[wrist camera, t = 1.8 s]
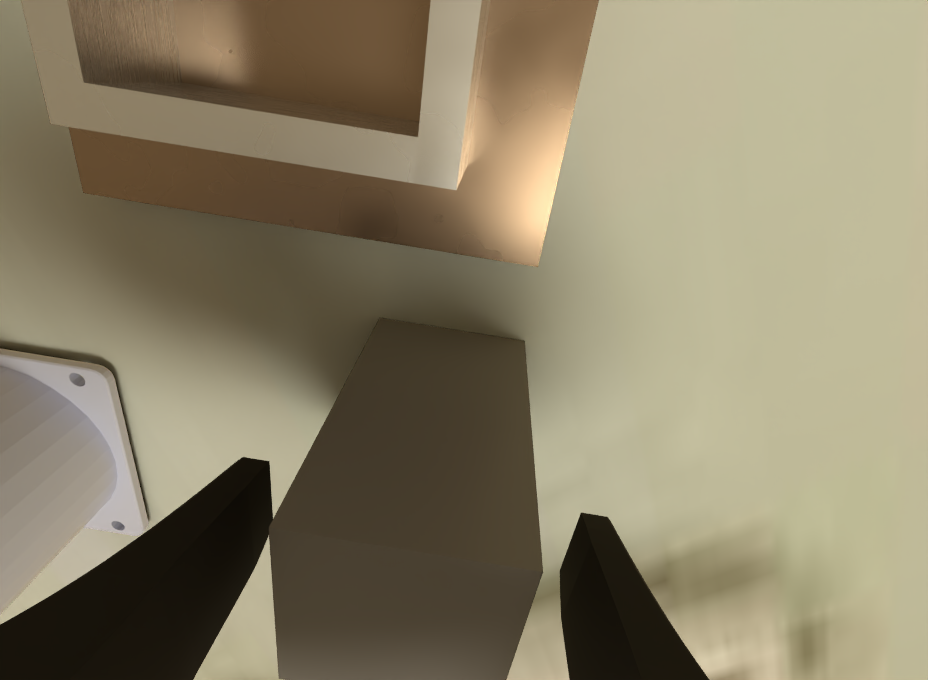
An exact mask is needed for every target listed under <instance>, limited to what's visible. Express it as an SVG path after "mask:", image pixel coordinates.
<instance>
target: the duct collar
mask: <svg viewBox="0 0 928 680" xmlns="http://www.w3.org/2000/svg"><path fill="white" fill-rule="evenodd" d="M598 1H599V0H21V2H22V6H23V11H24V15H25V19H26V23H27V27H28V32H29V36H30V40H31V44H32V48H33V52H34V57H35V61H36V65H37V69H38V73H39V78H40V82H41V86H42V90H43V94H44V98H45V103H46V107H47V111H48V115H49V119H50V124H54V125H60V126H66V127H69V131H70V135H71V140H72V144H73V148H74V153H75V157H76V162H77V166H78V171H79V175H80V180H81V184H82V189H83V193H87V194H93V195H99V196H105V197H111V198H118V199H124V200H130V201H136V202H142V203H148V204H154V205H161V206H167V207H173V208H179V209H185V210H191V211H197V212H204V213H210V214H216V215H222V216H228V217H234V218H240V219H247V220H253V221H259V222H265V223H271V224H277V225H283V226H290V227H296V228H302V229H308V230H314V231H320V232H326V233H332V234H339V235H345V236H351V237H357V238H363V239H369V240H375V241H382V242H388V243H394V244H400V245H406V246H412V247H418V248H425V249H431V250H437V251H443V252H449V253H455V254H461V255H468V256H474V257H480V258H486V259H492V260H498V261H504V262H511V263H517V264H523V265H529V266H535V267H538V264H539V260H540V255H541V251H542V247H543V242H544V238H545V234H546V229H547V225H548V220H549V216H550V212H551V207H552V203H553V199H554V194H555V190H556V185H557V181H558V177H559V172H560V168H561V163H562V159H563V155H564V150H565V146H566V142H567V137H568V133H569V128H570V124H571V120H572V115H573V111H574V106H575V102H576V98H577V93H578V89H579V85H580V80H581V76H582V71H583V67H584V63H585V58H586V54H587V49H588V45H589V41H590V36H591V32H592V28H593V23H594V19H595V14H596V10H597V6H598Z"/></svg>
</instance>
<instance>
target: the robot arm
mask: <svg viewBox="0 0 928 680" xmlns="http://www.w3.org/2000/svg"><path fill="white" fill-rule="evenodd" d="M80 375H81V376H82V377H81V376H80ZM272 521H273V513H272V497H271V481H270V465H269V461H264V460H257V459H251V458H245V457H243V458H241V459H240V460H238V461H237V462H236V463H234V464H233V465H232V466H230V467H229V468H228V469H227V470H225V471H224V472H223V473H222V474H221V475H219V476H218V477H217V478H216V479H214V480H213V481H212V482H211V483H209V484H208V485H207V486H206V487H204V488H203V489H202V490H201V491H199V492H198V493H197V494H195V495H194V496H193V497H192V498H190V499H189V500H188V501H187V502H185V503H184V504H183V505H181V506H180V507H179V508H177V509H176V510H175V511H173V512H172V513H171V514H169V515H168V516H167V517H166V518H164V519H163V520H162V521H160V522H159V523H158V524H156V525H155V526H154V527H152V528H151V529H150V530H148V531H147V532H145V533H144V534H143V535H141V534H142V533H143V532H144V531H145V530H146V528H147V527H148V525H149V522H148V518H147V514H146V510H145V505H144V501H143V497H142V493H141V488H140V484H139V480H138V476H137V472H136V467H135V463H134V459H133V455H132V450H131V446H130V442H129V438H128V433H127V429H126V425H125V421H124V416H123V412H122V408H121V404H120V399H119V395H118V391H117V387H116V382H115V379H114V376H113V374H112V373H111V372H110V370H109V369H107V368H106V367H104V366H101V365H98V364H93V363H87V362H81V361H75V360H69V359H62V358H56V357H50V356H44V355H38V354H31V353H25V352H19V351H13V350H7V349H0V615H1V614H2V613H3V612H4V611H5V610H6V609H7V608H8V607H9V605H10V604H11V603H12V602H13V601H14V600H15V599H16V598H17V597H18V596H19V595H20V594H21V593H22V592H23V591H24V590H25V589H26V587H27V586H28V585H29V584H30V583H31V582H32V581H33V580H34V579H35V578H36V577H37V576H38V575H39V574H40V573H41V572H42V571H43V570H44V568H45V567H46V566H47V565H48V564H49V563H50V562H51V561H52V560H53V559H54V558H55V557H56V556H57V555H58V554H59V553H60V552H61V550H62V549H63V548H64V547H65V546H66V545H67V544H68V543H69V542H70V541H71V540H72V539H73V538H74V537H75V536H76V535H77V534H78V533H79V531H80V530H81V529H82V528H89V529H95V530H101V531H108V532H114V533H120V534H126V535H133V536H137V535H141V536H140V537H138V538H137V539H136V540H134V541H133V542H131V543H130V544H128V545H127V546H126V547H124V548H123V549H121V550H120V551H118V552H117V553H116V554H114V555H113V556H111V557H110V558H108V559H107V560H106V561H104V562H103V563H101V564H100V565H98V566H97V567H95V568H93V569H92V570H90V571H89V572H87V573H86V574H84V575H83V576H81V577H80V578H78V579H77V580H75V581H73V582H72V583H70V584H69V585H67V586H65V587H64V588H62V589H61V590H59V591H57V592H56V593H54V594H52V595H51V596H49V597H48V598H46V599H44V600H43V601H41V602H39V603H38V604H36V605H34V606H32V607H31V608H29V609H27V610H25V611H24V612H22V613H20V614H18V615H17V616H15V617H13V618H11V619H10V620H8V621H6V622H4V623H2V624H1V625H0V680H193V679H194V677H195V675H196V673H197V671H198V670H199V668H200V666H201V664H202V662H203V661H204V659H205V657H206V655H207V653H208V652H209V650H210V648H211V646H212V644H213V643H214V641H215V639H216V637H217V635H218V634H219V632H220V630H221V628H222V626H223V625H224V623H225V621H226V619H227V618H228V616H229V614H230V612H231V610H232V609H233V607H234V605H235V603H236V601H237V600H238V598H239V596H240V594H241V592H242V590H243V589H244V587H245V585H246V583H247V581H248V580H249V578H250V576H251V574H252V572H253V570H254V568H255V566H256V564H257V562H258V559H259V557H260V555H261V552H262V550H263V548H264V545H265V543H266V540H267V538H268V535H269V526H270V524H271V522H272ZM560 599H561V620H562V628H563V635H564V642H565V650H566V657H567V664H568V671H569V678H570V680H709V679H708V677H707V676H706V674H705V673H704V672H703V670H702V669H701V667H700V666H699V665H698V663H697V662H696V660H695V659H694V657H693V656H692V654H691V653H690V652H689V650H688V649H687V647H686V646H685V644H684V643H683V641H682V640H681V638H680V637H679V635H678V634H677V632H676V631H675V629H674V628H673V626H672V625H671V623H670V622H669V620H668V618H667V617H666V615H665V614H664V612H663V610H662V609H661V607H660V606H659V604H658V602H657V601H656V599H655V597H654V596H653V594H652V593H651V591H650V589H649V588H648V586H647V584H646V583H645V581H644V579H643V578H642V576H641V574H640V573H639V571H638V569H637V567H636V566H635V564H634V562H633V560H632V559H631V557H630V555H629V553H628V552H627V550H626V548H625V546H624V545H623V543H622V541H621V539H620V537H619V535H618V534H617V532H616V530H615V528H614V526H613V525H612V523H611V521H610V520H609V518H608V517H604V516H598V515H592V514H586V513H581V514H580V517H579V520H578V523H577V525H576V528H575V531H574V533H573V536H572V539H571V542H570V544H569V547H568V550H567V553H566V555H565V558H564V561H563V564H562V566H561V569H560Z"/></svg>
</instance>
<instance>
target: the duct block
mask: <svg viewBox="0 0 928 680" xmlns="http://www.w3.org/2000/svg"><path fill="white" fill-rule="evenodd" d="M269 540H270V555H271V570H272V585H273V600H274V614H275V629H276V644H277V659H278V673H279V679H285V680H506V679H507V676H508V673H509V670H510V667H511V664H512V661H513V659H514V656H515V653H516V650H517V647H518V644H519V641H520V638H521V635H522V632H523V629H524V626H525V623H526V620H527V617H528V614H529V612H530V609H531V606H532V603H533V600H534V597H535V594H536V591H537V588H538V585H539V582H540V579H541V576H542V573H543V566H542V553H541V541H540V528H539V516H538V503H537V491H536V478H535V465H534V453H533V440H532V428H531V415H530V403H529V390H528V378H527V365H526V353H525V341H521V340H515V339H509V338H503V337H496V336H490V335H484V334H478V333H472V332H466V331H459V330H453V329H447V328H441V327H435V326H429V325H422V324H416V323H410V322H404V321H398V320H392V319H385V318H379V320H378V322H377V324H376V326H375V328H374V330H373V332H372V333H371V335H370V337H369V339H368V341H367V343H366V345H365V347H364V349H363V350H362V352H361V354H360V356H359V358H358V360H357V362H356V364H355V366H354V367H353V369H352V371H351V373H350V375H349V377H348V379H347V381H346V383H345V384H344V386H343V388H342V390H341V392H340V394H339V396H338V398H337V400H336V401H335V403H334V405H333V407H332V409H331V411H330V413H329V415H328V417H327V418H326V420H325V422H324V424H323V426H322V428H321V430H320V432H319V434H318V435H317V437H316V439H315V441H314V443H313V445H312V447H311V449H310V451H309V452H308V454H307V456H306V458H305V460H304V462H303V464H302V466H301V468H300V469H299V471H298V473H297V475H296V477H295V479H294V481H293V483H292V485H291V487H290V488H289V490H288V492H287V494H286V496H285V498H284V500H283V502H282V504H281V505H280V507H279V509H278V511H277V513H276V515H275V517H274V519H273V521H272V522H271V524H270V526H269Z"/></svg>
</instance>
